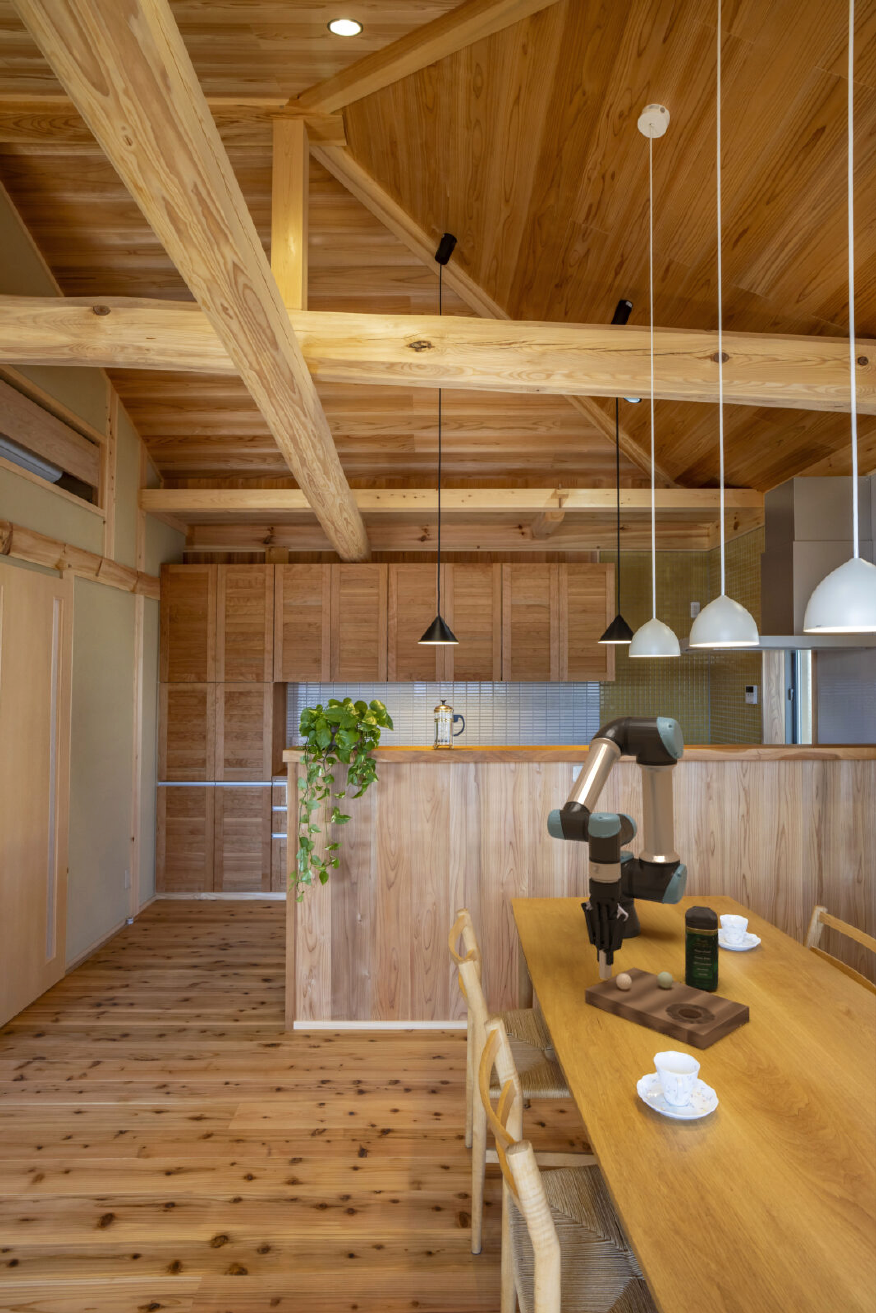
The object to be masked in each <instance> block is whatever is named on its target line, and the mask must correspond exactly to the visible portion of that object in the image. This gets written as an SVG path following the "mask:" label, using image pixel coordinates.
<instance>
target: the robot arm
mask: <svg viewBox="0 0 876 1313" xmlns="http://www.w3.org/2000/svg"><path fill="white" fill-rule="evenodd" d="M684 749H685V743H684V736H683V732H682V729H681V726H680V724H679V722H678V721H677V720H676V719H675V718H672V717H663V716H631V715H628V716H626V715H625V716H620V717H617V718H615V719H612V720H610V721H609V722H607V723H606V724H604V725H603V726H602V727H601V728H599V730H597V732H596V733H595V734H594V735H593V737H592V738H591V740H590V742H589V745H588V752H589V753H588V755H587V756H586V759H585V762H584V764H583V765H582V768H581V769H580V771H579V774H578V776H577V778H576V780H575V781H574V782H575V783H574V785H573V786H572V788H571V791H570V793H569V795H568V797H567V798H566V800H565V803H564V805H563V807H562V808H558V809H552V810H551V811H549V814H548V816H547V823H546V827H547V828H546V829H547V831H548V834H549V837H551V838H555V839H558V840H564V841H573V842H582V843H584V842H585V843H588V876H589V879H588V893H589V894H590V895H589V897H588V900H586V901H584V902H581V903H580V906H581V907H580V908H581V909H582V911H583V913H584V920H585V924H586V928H587V934H588V939H589V944H590V945H593V946H594V947H595V948H596V960H597V963H599V968H598V970H599V978H600V979H602V980H603V981H605V980H607V979H609V978H612V965H614V963H615V960H614V958H615V957H614V955H615V954H614V952H617V951H619V950H621V949H622V945H623V940H624V939H628V938H633V937H637V936H639V935H640V934H641V923H640V920H639V916H638V913H637V910H636V907H635V900H641V901H646V902H652V903H660V904H662V905H677V904H679V903H680V902H681V901H682V899H683V896H684V894H685V891H686V887H687V886H686V885H687V880H688V867H687V865H686V864H684V863H681V856H680V855H679V854H678V853H677V851H675V834H674V833H675V832H674V829H675V827H674V825H675V824H674V796H673V795H674V791H673V790H674V788H673V786H674V785H673V769H674V768H675V767H676V766H677V765H678V760H680V759H682V758H683V756H684V751H685V750H684ZM624 756H629V757H635V764H636V766H637V767H639V768H640V769H641V790H642V791H641V794H642V795H641V797H642V827H643V828H642V829H643V831H642V833H643V834H642V835H643V850H642V851H640V853H639V854H638V858H636V857H635V854H634V852H633V851H630V850H621V848H622V847H623V846H625V845H629V843H631V842H632V841H633V840H634V839H635V837H637V833H638V825H637V823H636V821H635V819H634V818H633V817H632V816H631V815H629V814H627V813H624V812H623V813H622V812H621V813H613V812H594V810H595V807H596V805H597V803H598V801H599V799H600V796H601V794H602V791H603V789H604V787H605V785H606V782H607V781H608V777H609V776H610V774H611V772H612V769H613V767H614V765H615V764H616V763H618V762H619V761H620V759H621V757H624ZM593 812H594V813H593Z"/></svg>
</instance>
